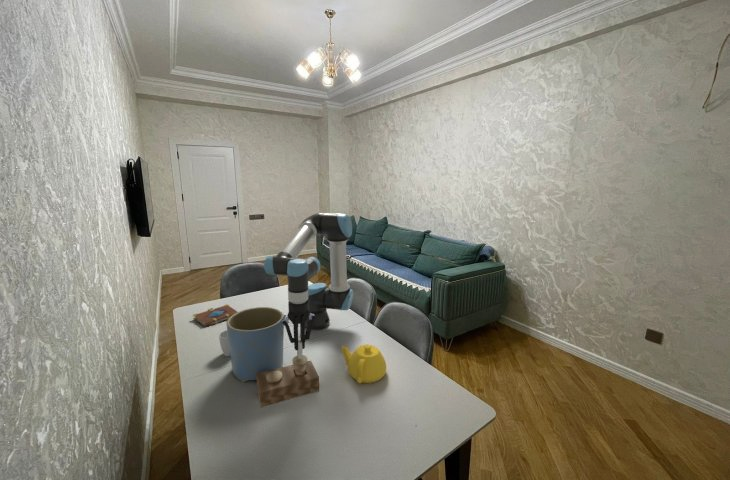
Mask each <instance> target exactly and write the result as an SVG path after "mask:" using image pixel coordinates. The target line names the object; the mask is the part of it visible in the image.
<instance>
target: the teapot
mask: <svg viewBox="0 0 730 480" xmlns="http://www.w3.org/2000/svg"><path fill="white" fill-rule="evenodd" d="M341 351H342V354H343V357H344V361H345V365H346V366H347V371H348V373H349V376H351V378H352V379H354V380H355V381H356V382H357V383H358V384H373V383H376V382H378V381H379V380H381V379H382V378H384V376H385V374H386V372H387V364H386V359H385V357H384V355H383V354H382V351H381V350H380V349H379V348H378V347H377V346H375V345H372V344H361V345H359V346H358V347H357V348H355V350H354V351H353V353H351V351H350V349H349V348H348V347H347V346H345V345H342V346H341ZM362 382H363V383H362ZM372 382H373V383H372Z"/></svg>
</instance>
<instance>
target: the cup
mask: <svg viewBox="0 0 730 480" xmlns="http://www.w3.org/2000/svg"><path fill="white" fill-rule="evenodd" d="M218 338H219V344H220V348H221V351H222V353H223V355H224V356H225V357H231V356H230V349H229V342H228V333H227V329H226V330H223V331H221V332H220V333H219V334H218Z"/></svg>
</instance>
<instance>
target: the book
mask: <svg viewBox="0 0 730 480" xmlns="http://www.w3.org/2000/svg"><path fill="white" fill-rule="evenodd" d="M237 312H238V310H235V309H234V308H233V307H232V306H230V305H229V304H227V303H226V304H224V305H222V306H219V307H216V308H213V307H211V308H208V309H207V310H206V311H203V312H199V313H195V314H192V317H193V318H192V319H193V321H196V322H197V323H198V324H199V325H201V326H202V327H203V328H207V327H210V326H212V325H217V324H218V323H221V322H224V321H227V320H228V318H229V317H231V316H232V315H233V314H235V313H237Z"/></svg>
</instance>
